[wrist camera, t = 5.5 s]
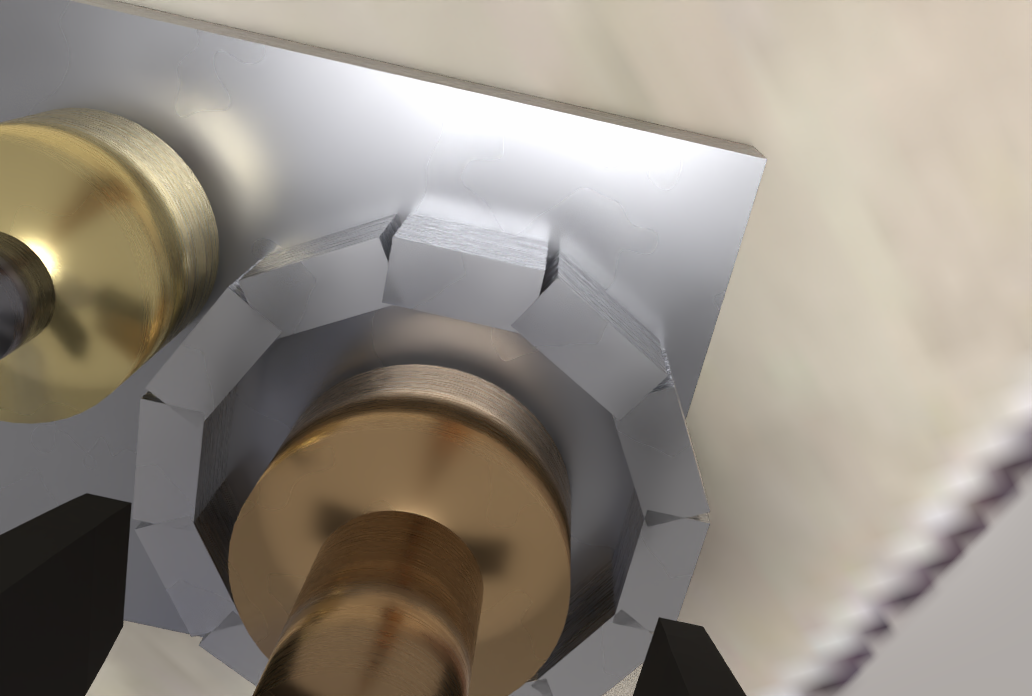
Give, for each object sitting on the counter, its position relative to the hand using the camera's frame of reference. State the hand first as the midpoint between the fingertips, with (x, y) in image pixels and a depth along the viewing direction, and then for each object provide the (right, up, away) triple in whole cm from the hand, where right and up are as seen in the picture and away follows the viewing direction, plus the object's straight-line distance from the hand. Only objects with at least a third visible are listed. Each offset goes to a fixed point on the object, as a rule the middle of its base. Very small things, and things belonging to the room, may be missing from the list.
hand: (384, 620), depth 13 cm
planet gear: (0, +1, +4) cm, 4 cm away
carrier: (-2, +3, +4) cm, 6 cm away
